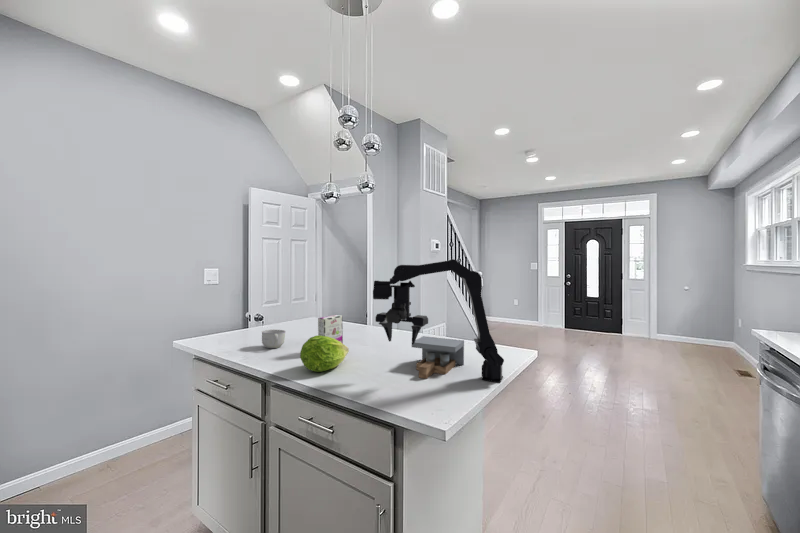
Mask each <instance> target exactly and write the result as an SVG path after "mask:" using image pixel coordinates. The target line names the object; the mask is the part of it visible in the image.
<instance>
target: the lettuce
mask: <svg viewBox="0 0 800 533" xmlns="http://www.w3.org/2000/svg"><path fill="white" fill-rule="evenodd" d="M349 349H350V348H349V347H348V346H347V345H345V344H344V343H343V344H342V343H341V342H340V341H338V340H336V339H334V338H331V337H327V336H321V335H319V336H318V335H314V336H312V337H309V338H308V339H307V340H306V341H305V342H304V343H303V344H302V346H301V349H300V354H299V358H300V360H301V362H302V364H303V365H304V368H306V369H307V370H309V371H311V372H316V373H321V372H322V373H323V372H326V371H329V370H332V369H335V368H336V367H337V366H339V365H340V364H341V363H342V362H343V361H344V360H345V358H346V356H347V355H348V354H349V353H350V352H349V351H350V350H349Z"/></svg>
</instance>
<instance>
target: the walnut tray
mask: <svg viewBox="0 0 800 533" xmlns="http://www.w3.org/2000/svg"><path fill="white" fill-rule="evenodd" d="M455 367H456V364H455V360H452V359H449V354H448V353H441V354H440V358H437V357H435V352H432V351H428V352H426V358H424V359H423V360H422V359H421V360H420V361H418V362H417V363H416V367H415V368H416V369H415V370H416V371H418V379H419V378H420V379H425V380H426V379H429V377H431V376H432V375H433V374H440V375H441V374H442V375H447V374H448V373H449V372H450V371H451V370H452V369H454V368H455Z"/></svg>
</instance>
